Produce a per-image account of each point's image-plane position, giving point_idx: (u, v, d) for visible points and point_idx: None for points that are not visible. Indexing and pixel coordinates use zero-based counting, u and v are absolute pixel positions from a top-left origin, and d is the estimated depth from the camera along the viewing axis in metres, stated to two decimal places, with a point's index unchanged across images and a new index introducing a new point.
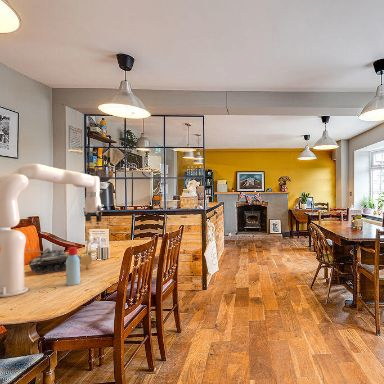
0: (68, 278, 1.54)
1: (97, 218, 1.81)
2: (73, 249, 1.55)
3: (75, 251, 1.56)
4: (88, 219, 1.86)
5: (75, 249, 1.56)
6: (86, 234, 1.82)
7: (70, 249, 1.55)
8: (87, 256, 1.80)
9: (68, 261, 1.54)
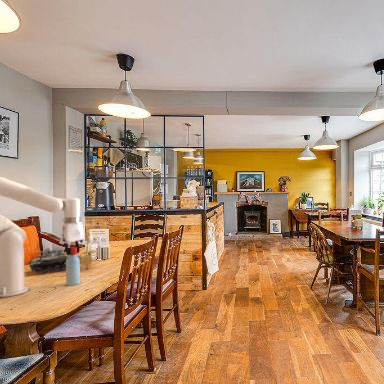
0: (68, 278, 1.54)
1: (78, 248, 1.59)
2: (73, 249, 1.55)
3: (75, 251, 1.56)
4: None
5: (75, 249, 1.56)
6: (86, 234, 1.82)
7: None
8: (87, 256, 1.80)
9: (68, 261, 1.54)
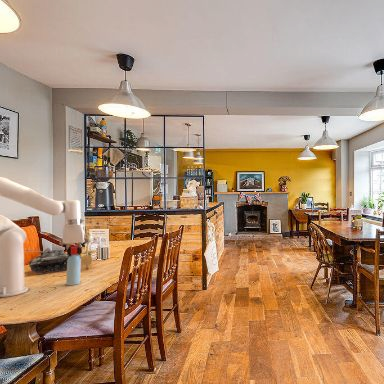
0: (68, 278, 1.54)
1: None
2: None
3: None
4: None
5: None
6: (86, 234, 1.82)
7: None
8: (87, 256, 1.80)
9: (69, 261, 1.54)
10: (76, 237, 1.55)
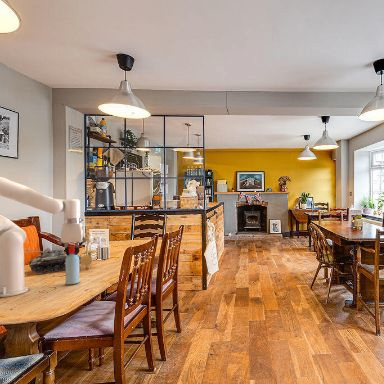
0: (67, 277, 1.53)
1: None
2: None
3: None
4: None
5: None
6: (86, 234, 1.82)
7: None
8: (87, 256, 1.80)
9: (68, 260, 1.54)
10: (74, 236, 1.55)
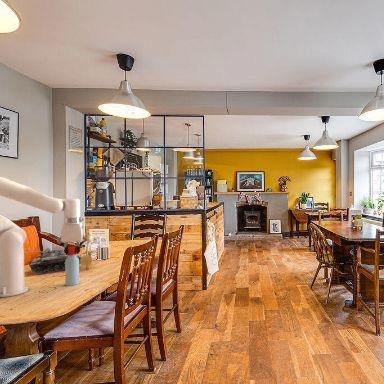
0: (67, 278, 1.53)
1: None
2: None
3: None
4: None
5: None
6: (86, 234, 1.82)
7: None
8: (87, 256, 1.80)
9: (67, 261, 1.53)
10: (75, 236, 1.55)
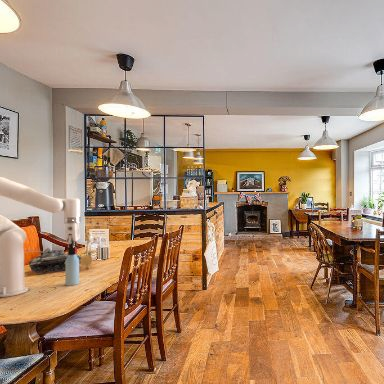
0: (67, 278, 1.53)
1: None
2: None
3: None
4: None
5: None
6: (86, 234, 1.82)
7: None
8: (87, 256, 1.80)
9: (68, 261, 1.54)
10: None
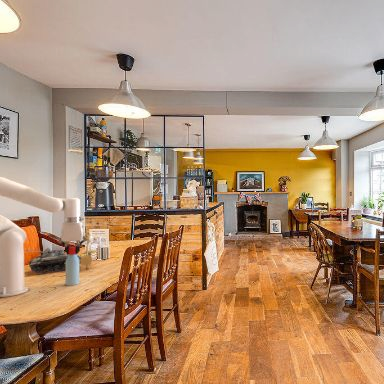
0: (67, 278, 1.53)
1: None
2: (68, 248, 1.55)
3: (69, 251, 1.55)
4: None
5: (69, 249, 1.55)
6: (86, 234, 1.82)
7: None
8: (87, 256, 1.80)
9: (68, 261, 1.53)
10: (75, 235, 1.55)
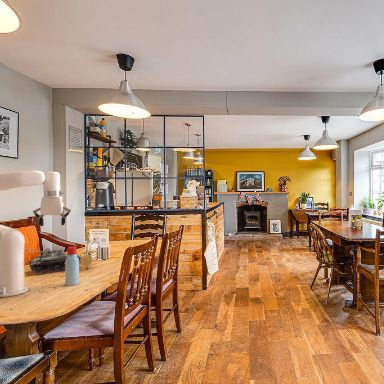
0: (67, 278, 1.53)
1: None
2: None
3: (68, 251, 1.55)
4: None
5: (68, 249, 1.55)
6: (86, 234, 1.82)
7: None
8: (87, 256, 1.80)
9: (67, 261, 1.53)
10: (54, 209, 1.54)
